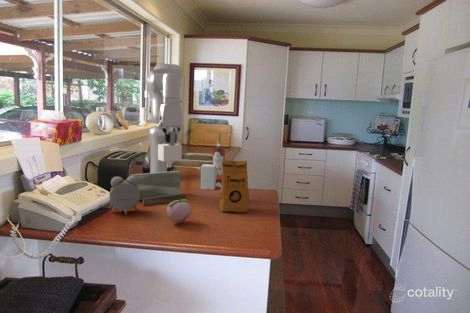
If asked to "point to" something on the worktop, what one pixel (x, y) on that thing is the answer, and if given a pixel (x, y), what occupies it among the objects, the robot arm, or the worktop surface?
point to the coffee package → (234, 187)
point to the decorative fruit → (179, 210)
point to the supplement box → (208, 176)
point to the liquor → (218, 158)
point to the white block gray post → (170, 150)
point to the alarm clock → (124, 193)
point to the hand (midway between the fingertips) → (170, 142)
